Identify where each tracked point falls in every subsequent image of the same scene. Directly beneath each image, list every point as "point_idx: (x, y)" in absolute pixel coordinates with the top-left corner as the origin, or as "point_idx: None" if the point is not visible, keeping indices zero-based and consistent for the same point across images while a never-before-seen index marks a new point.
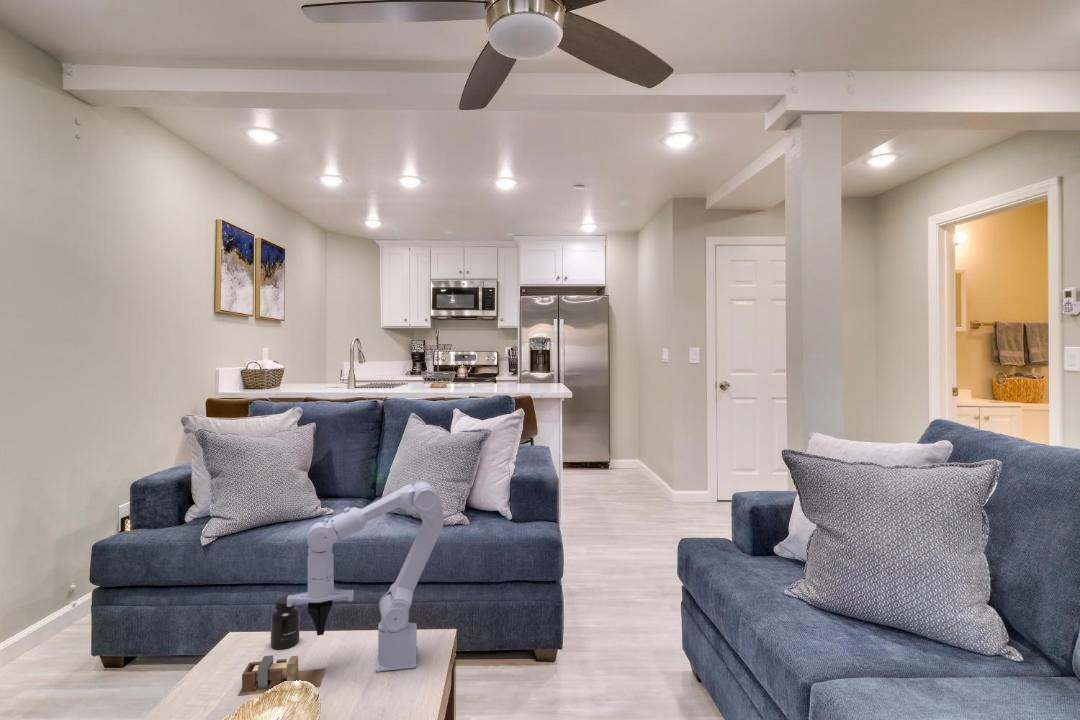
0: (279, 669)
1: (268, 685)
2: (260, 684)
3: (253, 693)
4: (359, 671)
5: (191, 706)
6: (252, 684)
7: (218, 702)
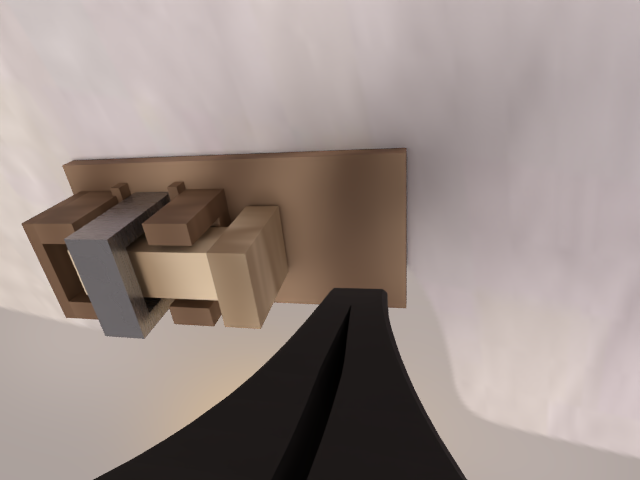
0: (202, 315)
1: None
2: None
3: None
4: (600, 176)
5: (8, 289)
6: None
7: None
